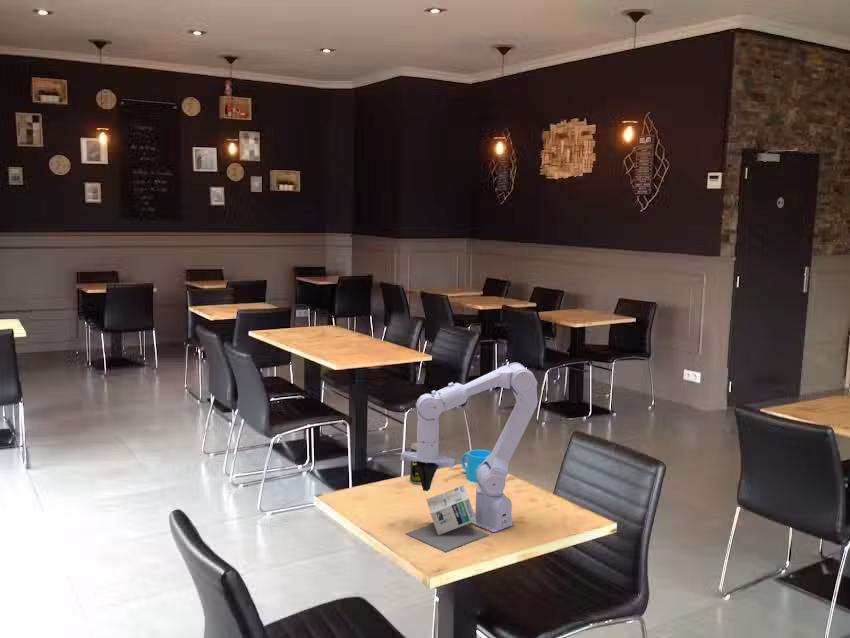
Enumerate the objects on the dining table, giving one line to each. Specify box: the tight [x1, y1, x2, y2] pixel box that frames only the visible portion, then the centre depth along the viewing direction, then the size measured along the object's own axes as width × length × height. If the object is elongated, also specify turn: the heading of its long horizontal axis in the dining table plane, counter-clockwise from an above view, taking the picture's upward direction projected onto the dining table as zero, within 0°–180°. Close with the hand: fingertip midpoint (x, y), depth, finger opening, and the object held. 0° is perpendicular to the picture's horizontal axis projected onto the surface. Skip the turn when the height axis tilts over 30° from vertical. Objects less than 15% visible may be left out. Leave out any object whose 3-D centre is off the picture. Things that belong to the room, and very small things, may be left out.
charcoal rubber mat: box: [405, 522, 490, 553], centre depth 206 cm, size 14×16×1 cm
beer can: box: [409, 441, 422, 485], centre depth 245 cm, size 5×5×12 cm
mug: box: [460, 449, 492, 484], centre depth 251 cm, size 12×8×8 cm
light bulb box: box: [425, 484, 476, 535], centre depth 209 cm, size 11×7×11 cm
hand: (426, 489), depth 210 cm, fingers closed
